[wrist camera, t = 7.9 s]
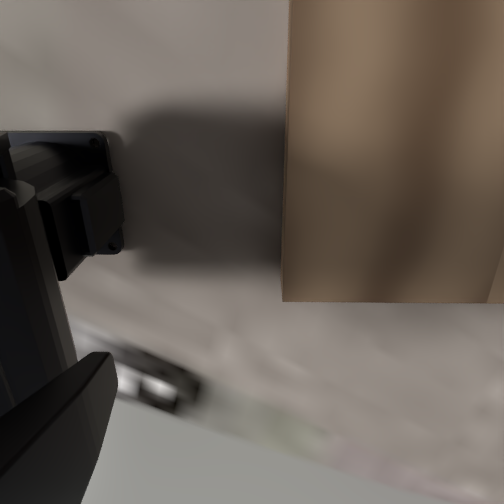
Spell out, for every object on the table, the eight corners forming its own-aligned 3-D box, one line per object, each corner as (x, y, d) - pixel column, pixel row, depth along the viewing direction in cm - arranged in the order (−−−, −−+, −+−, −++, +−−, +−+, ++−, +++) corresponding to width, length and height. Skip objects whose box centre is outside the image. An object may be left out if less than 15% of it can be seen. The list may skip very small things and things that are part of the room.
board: (280, 278, 22) (282, 301, 20) (291, -70, 16) (296, -94, 13) (596, 280, 22) (635, 304, 20) (752, -76, 15) (838, -101, 13)
